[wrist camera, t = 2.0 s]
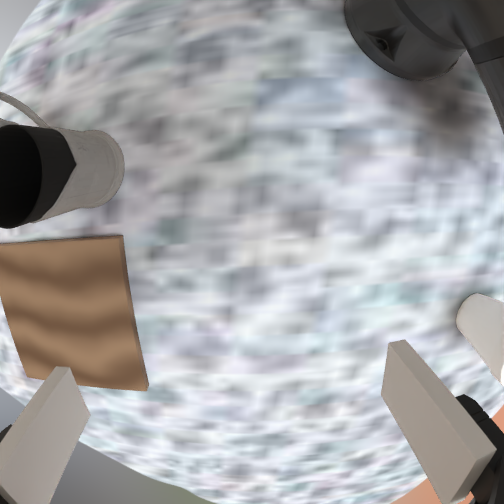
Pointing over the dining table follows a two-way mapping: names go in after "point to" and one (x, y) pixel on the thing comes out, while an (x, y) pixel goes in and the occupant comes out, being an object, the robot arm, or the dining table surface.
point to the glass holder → (53, 169)
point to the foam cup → (484, 330)
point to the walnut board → (73, 310)
